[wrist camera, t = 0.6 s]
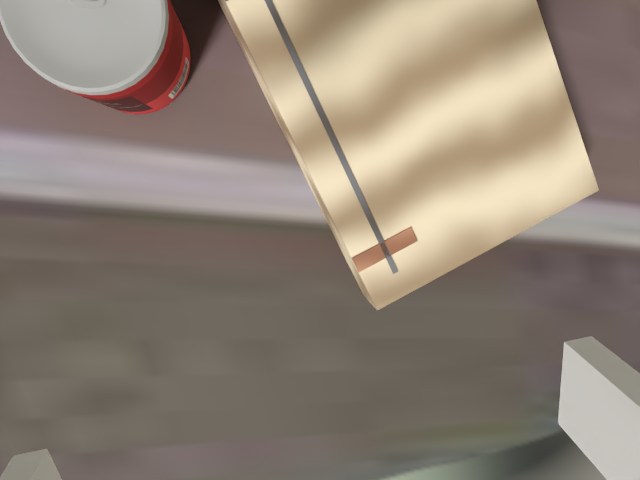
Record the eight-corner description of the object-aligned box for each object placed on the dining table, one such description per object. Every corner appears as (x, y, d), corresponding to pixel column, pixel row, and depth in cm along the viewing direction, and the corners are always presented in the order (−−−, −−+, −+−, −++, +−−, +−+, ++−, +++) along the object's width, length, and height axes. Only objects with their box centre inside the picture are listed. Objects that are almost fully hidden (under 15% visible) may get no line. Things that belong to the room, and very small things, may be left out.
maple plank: (197, -41, 31) (190, -71, 27) (443, -156, 33) (471, -200, 29) (363, 294, 38) (377, 310, 34) (563, 187, 39) (599, 190, 35)
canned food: (174, -13, 31) (137, -103, 21) (205, 102, 33) (187, 75, 22) (62, 8, 30) (-37, -74, 20) (100, 126, 32) (29, 108, 21)
